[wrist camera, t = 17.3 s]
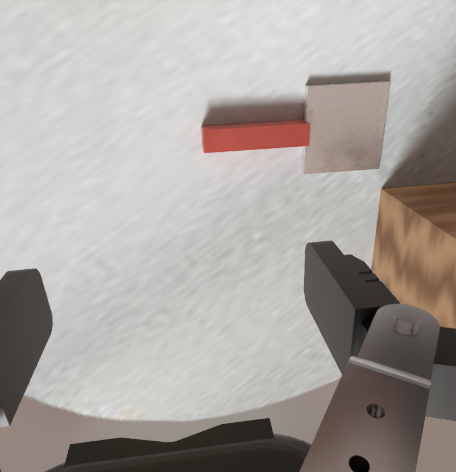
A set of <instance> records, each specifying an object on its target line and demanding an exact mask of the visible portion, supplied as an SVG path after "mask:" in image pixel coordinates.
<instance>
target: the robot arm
mask: <svg viewBox="0 0 456 472" xmlns="http://www.w3.org/2000/svg"><path fill="white" fill-rule="evenodd" d="M304 294H305V300H306V303H307V306H308V308H309V310H310V312H311V314H312V316H313V318H314V320H315V322H316V324H317V326H318V328H319V330H320V332H321V334H322V336H323V338H324V340H325V342H326V344H327V346H328V348H329V350H330V352H331V354H332V356H333V358H334V359H335V361H336V363H337V365H338V367H339V369H340V371H341V373H342V377H341V379H340V381H339V383H338V386H337V388H336V390H335V393H334V395H333V397H332V399H331V402H330V404H329V406H328V408H327V411H326V413H325V415H324V417H323V420H322V422H321V424H320V427H319V429H318V431H317V433H316V436H315V438H314V440H313V442H312V444H309V443H307V442H305V441H302V440H299V439H296V438H293V437H289V436H285V435H280V434H273V431H272V427H271V423H270V419H269V418H265V419H259V420H250V421H243V422H235V423H227V424H222V425H219V426H216V427H213V428H210V429H208V430H205V431H202V432H200V433H197V434H194V435H191V436H189V437H186V438H183V439H181V440H178V441H175V442H159V441H149V440H139V439H129V438H114V439H106V440H99V441H91V442H84V443H76V444H70V447H69V450H68V454H67V458H66V461H65V463H63V464H60V465H58V466H56V467H54V468H52V469H49V470H47V471H45V472H415V471H416V465H417V459H418V454H419V448H420V442H421V437H422V431H423V426H424V420H425V416H427V417H433V418H440V419H447V420H453V421H456V328H447V327H440V326H439V323H438V321H437V320H436V319H435V317H434V316H432V315H431V314H430V313H428V312H427V311H425V310H423V309H420V308H418V307H415V306H411V305H406V304H401V303H400V302H399V301H398V300H397V298H396V297H395V296H394V295H393V294H392V293H391V292H390V291H389V289H388V288H387V287H386V286H385V285H384V284H383V283H382V281H379V278H378V277H377V276H376V275H375V274H374V273H373V272H372V270H371V269H370V268H369V267H368V266H367V264H366V263H365V262H364V261H362V260H360V259H358V258H356V257H354V256H353V255H351V254H349V255H344V254H343V253H342V252H341V251H340V250H339V248H338V247H337V246H336V245H335V243H334V242H333V241H322V242H312V243H307V245H306V249H305V273H304ZM52 324H53V321H52V313H51V309H50V306H49V302H48V299H47V295H46V292H45V288H44V285H43V281H42V278H41V275H40V273H39V271H38V270H37V269H25V270H15V271H8V272H6V273H5V275H4V276H3V277H2V279H1V280H0V427H7V426H10V424H11V422H12V420H13V417H14V415H15V413H16V411H17V408H18V406H19V404H20V402H21V399H22V397H23V395H24V393H25V391H26V388H27V386H28V384H29V382H30V379H31V377H32V375H33V373H34V370H35V368H36V366H37V364H38V361H39V359H40V357H41V355H42V353H43V350H44V348H45V346H46V344H47V341H48V339H49V337H50V335H51V331H52ZM0 472H1V470H0Z"/></svg>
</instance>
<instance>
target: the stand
mask: <svg viewBox="0 0 456 472" xmlns="http://www.w3.org/2000/svg"><path fill="white" fill-rule="evenodd" d="M372 271H373V272H374V273H375V274H376V275H377V276H378V277H379V278H380V280H381V281H382V282H383V283H384V284H385V285H386V286H387V287H388V289H389V290H390V291H391V292H392V293H393V294H394V295H395V296H396V298H397V299H398V300H399V301H400V302H401V303H402V304H406V305H411V306H415V307H418V308H420V309H423V310H425V311H427V312H428V313H430V314H431V315H432V316H434V317H435V319H436V320H437V321H438V323H439V326H440V327H447V328H456V182H453V183H441V184H430V185H418V186H407V187H396V188H384V189H381V196H380V204H379V213H378V221H377V229H376V238H375V246H374V255H373V263H372Z"/></svg>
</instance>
